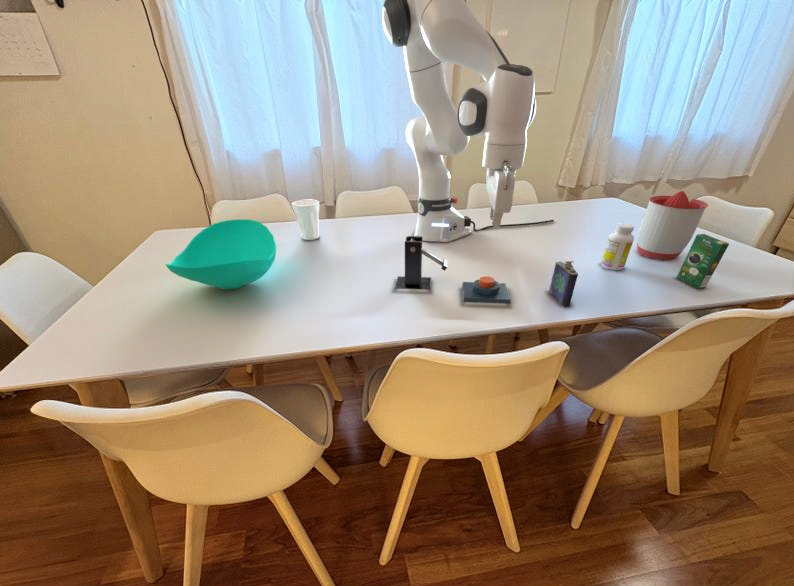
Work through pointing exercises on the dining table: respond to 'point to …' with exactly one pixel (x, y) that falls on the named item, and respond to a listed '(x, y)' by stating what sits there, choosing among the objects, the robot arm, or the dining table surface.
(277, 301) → the dining table surface
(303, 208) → the cup
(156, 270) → the dining table surface
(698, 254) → the coffee box
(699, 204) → the citrus juicer
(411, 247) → the bracket
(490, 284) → the button
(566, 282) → the flask
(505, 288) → the button box
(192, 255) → the table top decor
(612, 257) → the supplement bottle
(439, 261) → the lever
